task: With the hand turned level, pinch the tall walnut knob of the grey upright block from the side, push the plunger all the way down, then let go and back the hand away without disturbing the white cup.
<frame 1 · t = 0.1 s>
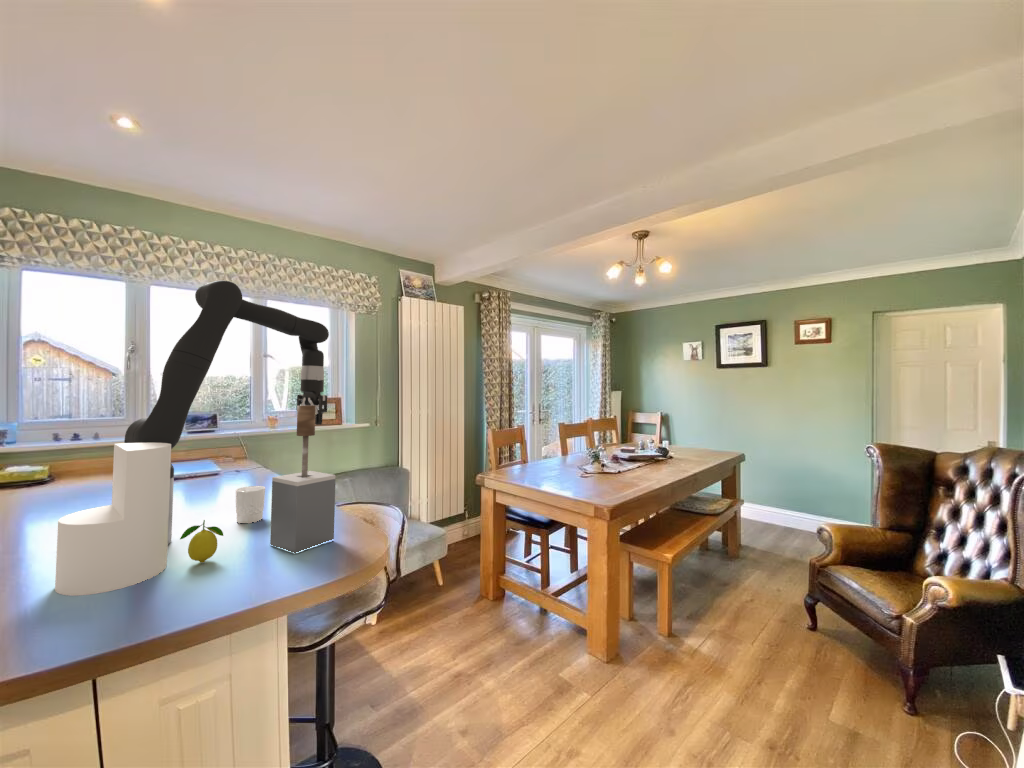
hand: (311, 424, 146), 29 cm above the breakfast bar, tool pointing down, fingers open, 8 cm apart
grey upright block: (302, 543, 109), on the breakfast bar
white stepped oval block: (114, 576, 88), on the breakfast bar
white cup: (249, 521, 127), on the breakfast bar
lemon: (201, 563, 96), on the breakfast bar
plunger: (305, 455, 110), point 24 cm above the breakfast bar, slide at 8.0 cm
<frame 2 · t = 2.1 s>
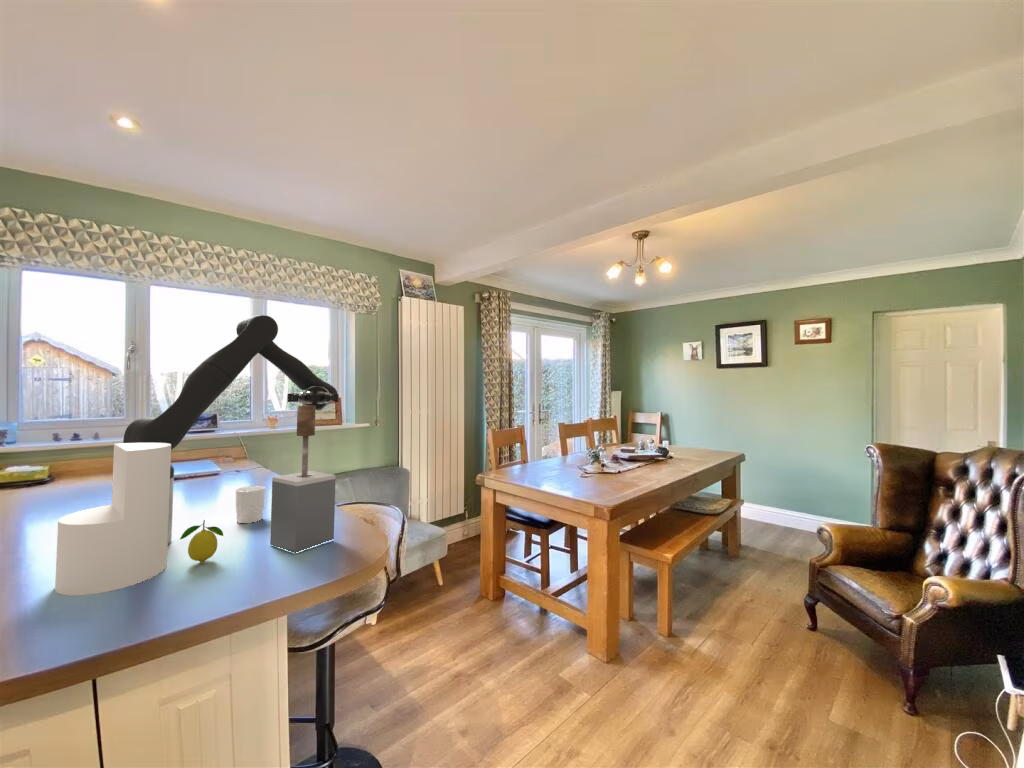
hand: (311, 398, 120), 39 cm above the breakfast bar, tool horizontal, fingers open, 8 cm apart
nothing on the breakfast bar moved.
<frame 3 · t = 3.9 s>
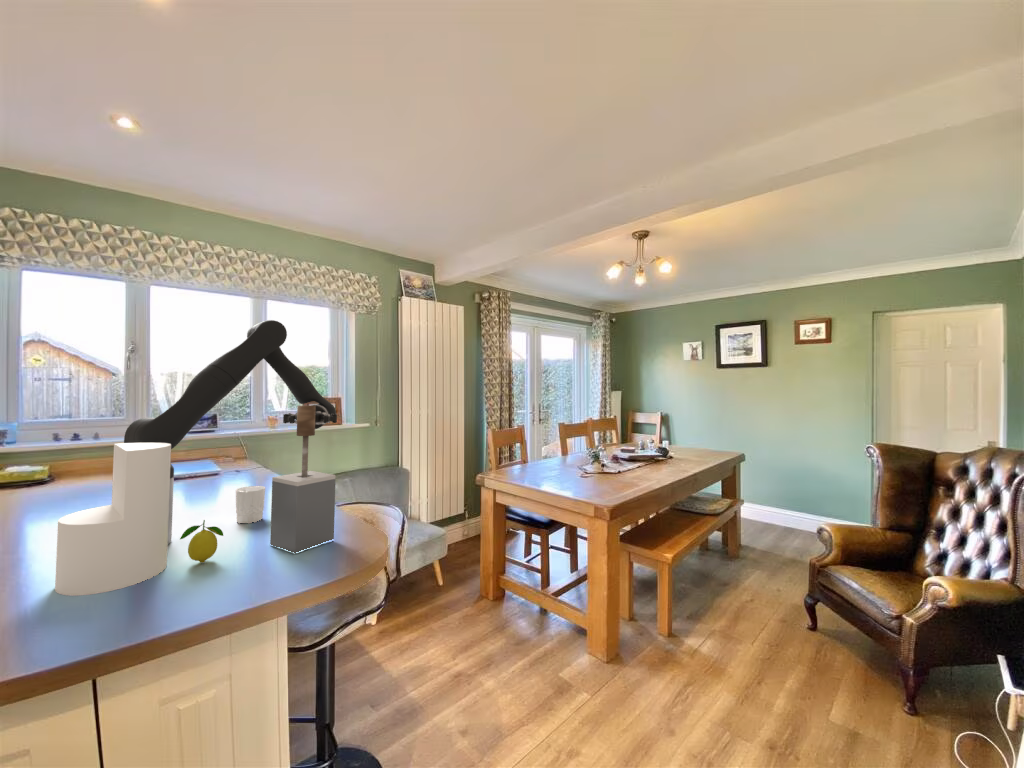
hand: (308, 419, 115), 33 cm above the breakfast bar, tool horizontal, fingers open, 8 cm apart
nothing on the breakfast bar moved.
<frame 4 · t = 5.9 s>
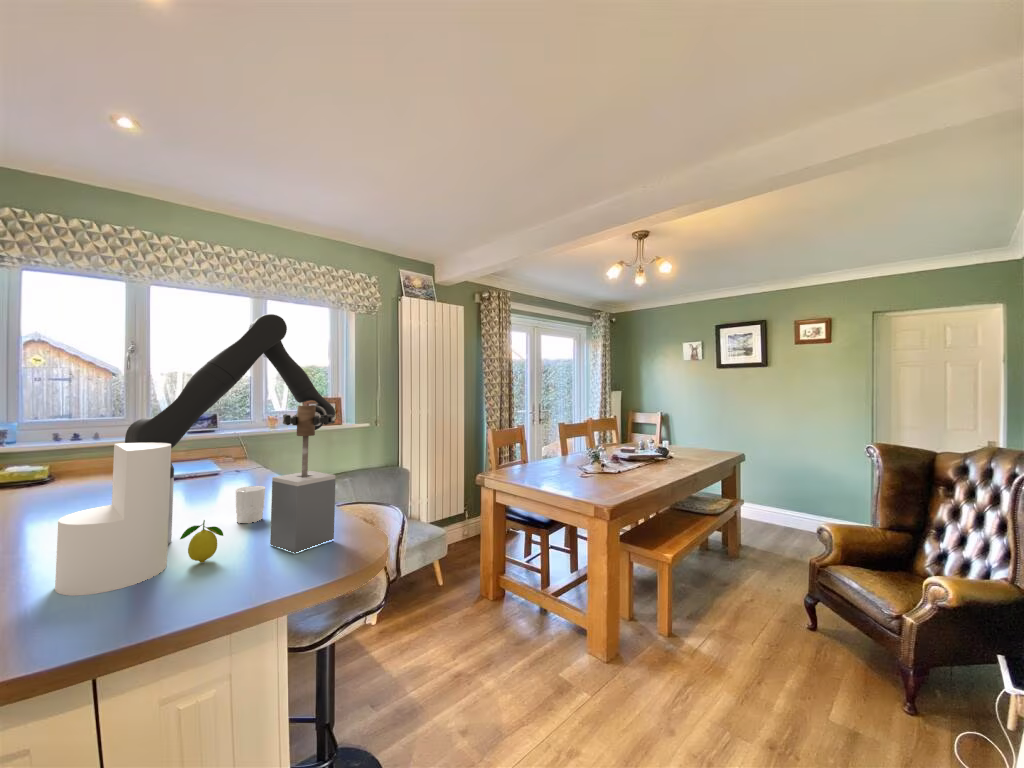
hand: (304, 421, 107), 33 cm above the breakfast bar, tool horizontal, fingers closed on plunger, 4 cm apart
plunger: (305, 455, 110), point 23 cm above the breakfast bar, slide at 8.0 cm, touching gripper
everything else where it was.
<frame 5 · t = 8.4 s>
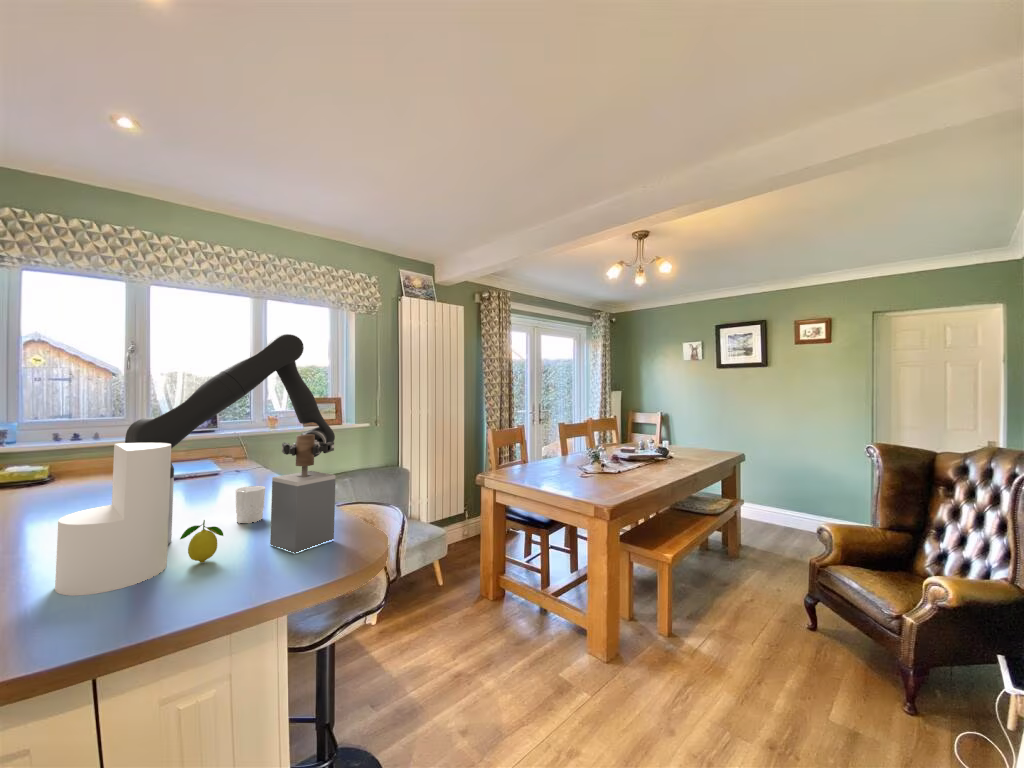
hand: (304, 451, 107), 25 cm above the breakfast bar, tool horizontal, fingers closed on plunger, 4 cm apart
plunger: (304, 485, 109), point 16 cm above the breakfast bar, slide at 0.0 cm, touching gripper
everything else where it was.
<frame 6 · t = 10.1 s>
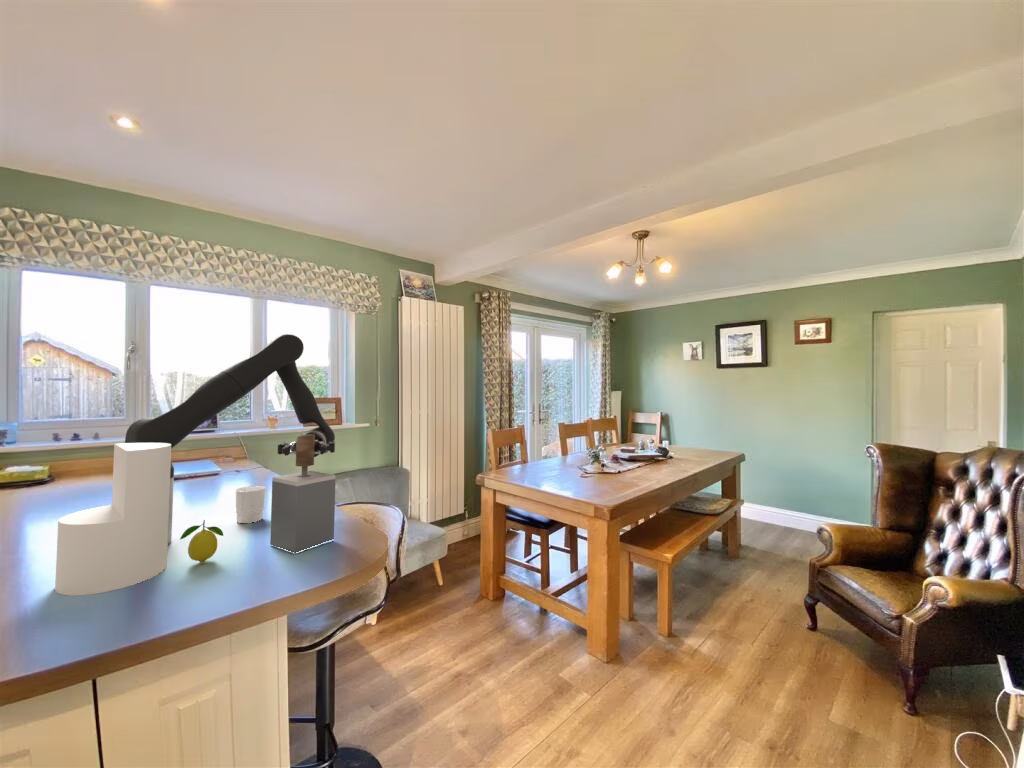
hand: (304, 450, 108), 25 cm above the breakfast bar, tool horizontal, fingers open, 8 cm apart
plunger: (304, 485, 109), point 15 cm above the breakfast bar, slide at 0.0 cm
everything else where it was.
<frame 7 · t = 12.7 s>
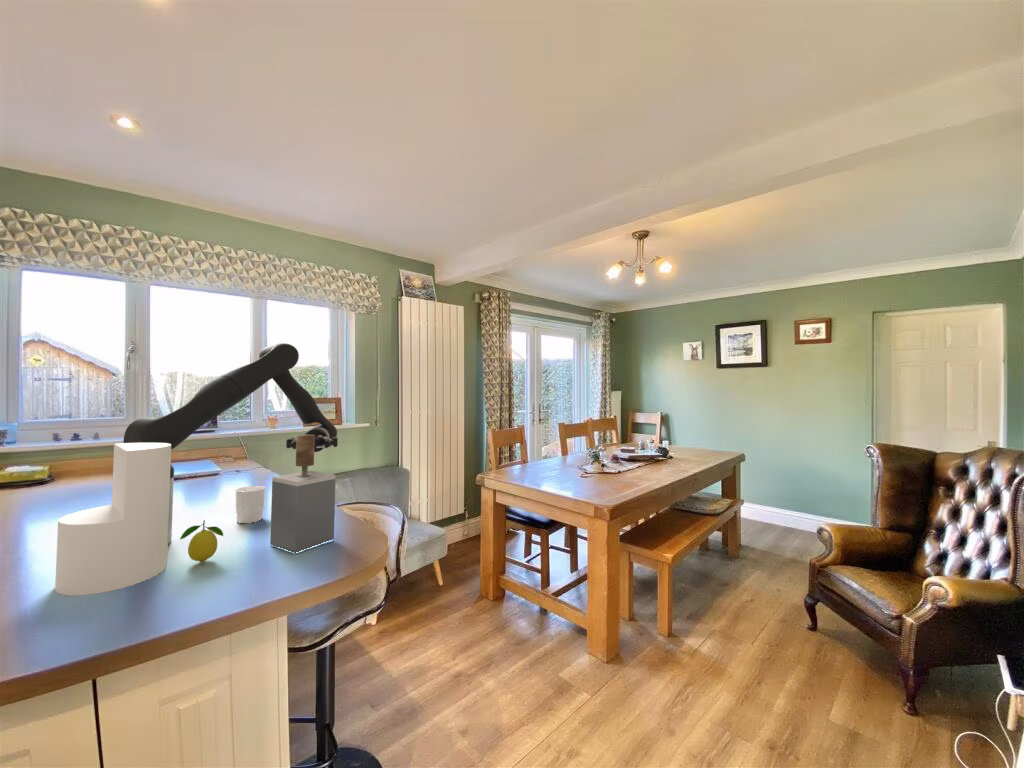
hand: (310, 445, 120), 25 cm above the breakfast bar, tool horizontal, fingers open, 8 cm apart
nothing on the breakfast bar moved.
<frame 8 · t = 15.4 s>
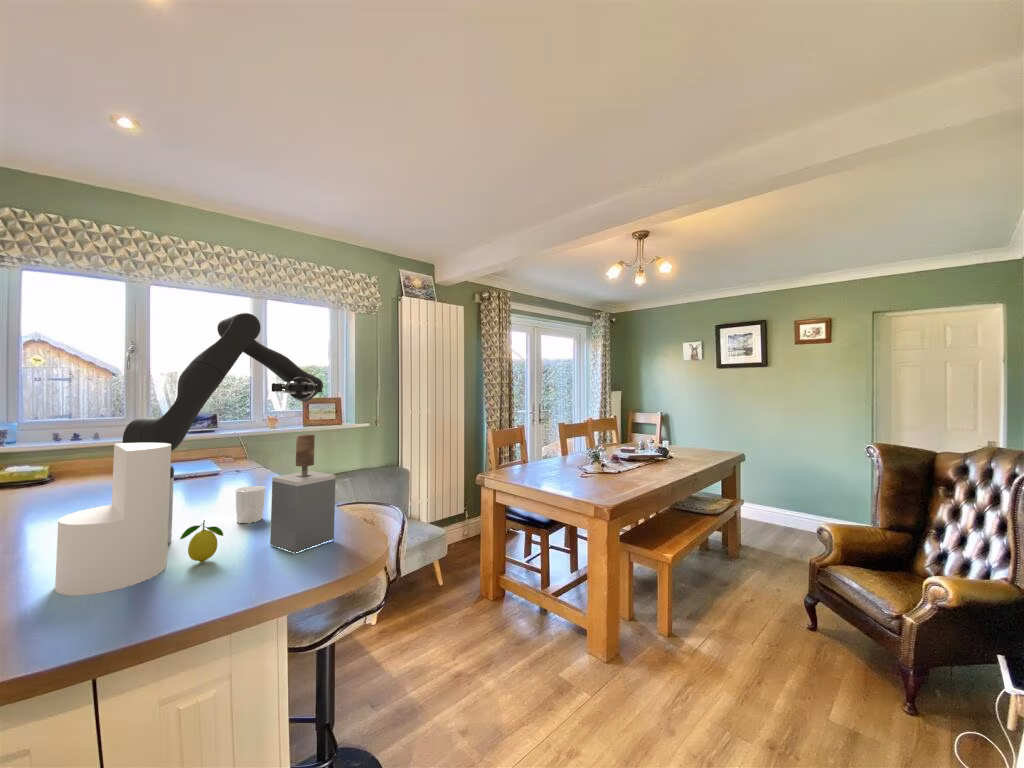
hand: (294, 387, 124), 42 cm above the breakfast bar, tool horizontal, fingers open, 8 cm apart
nothing on the breakfast bar moved.
at the end: plunger slide at 0.0 cm; white cup moved 0.2 cm from its start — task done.
